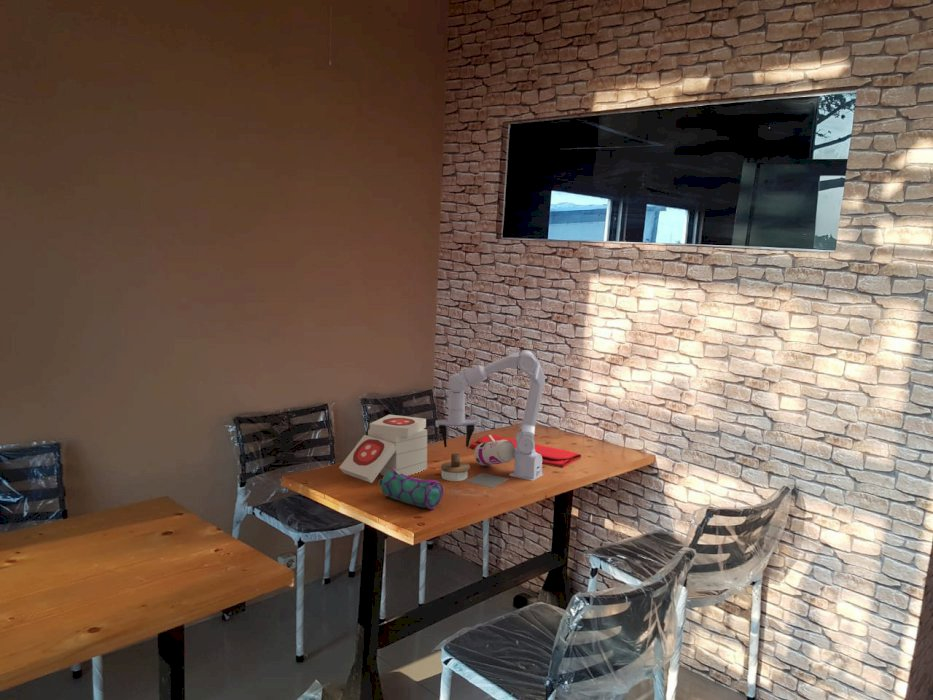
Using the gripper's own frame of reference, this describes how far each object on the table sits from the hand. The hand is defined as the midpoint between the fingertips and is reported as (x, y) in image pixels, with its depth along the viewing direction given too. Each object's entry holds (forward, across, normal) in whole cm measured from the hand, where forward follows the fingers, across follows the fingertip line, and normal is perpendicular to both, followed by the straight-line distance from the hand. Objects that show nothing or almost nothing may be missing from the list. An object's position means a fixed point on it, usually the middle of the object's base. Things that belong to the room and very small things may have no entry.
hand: (456, 446), depth 256 cm
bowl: (+10, +1, +4) cm, 11 cm away
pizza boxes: (+10, +24, -2) cm, 27 cm away
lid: (+7, +1, +4) cm, 8 cm away
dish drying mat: (+11, -29, -24) cm, 39 cm away
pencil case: (+10, +16, +27) cm, 33 cm away
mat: (+10, -10, +8) cm, 17 cm away
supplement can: (+6, -10, -10) cm, 16 cm away
